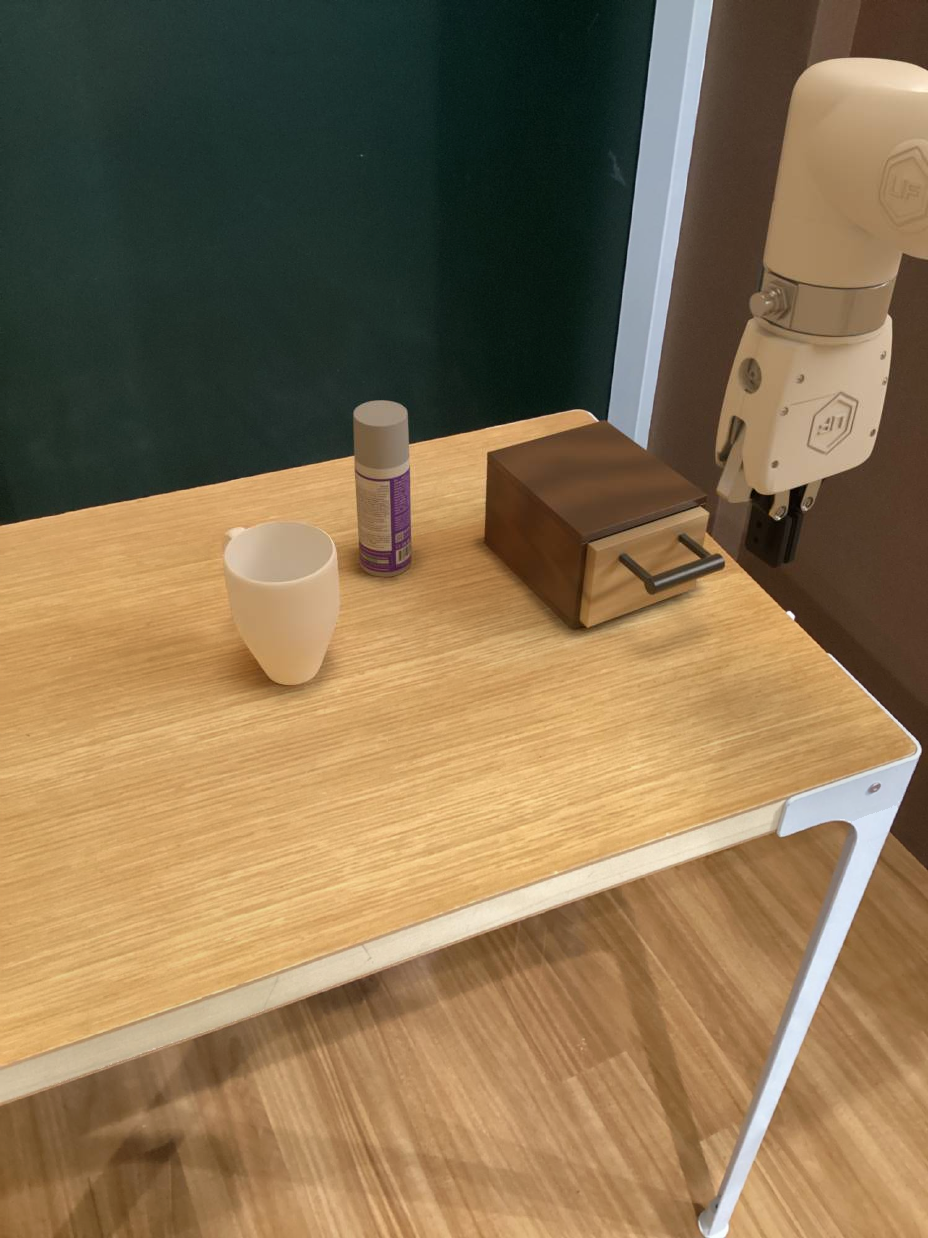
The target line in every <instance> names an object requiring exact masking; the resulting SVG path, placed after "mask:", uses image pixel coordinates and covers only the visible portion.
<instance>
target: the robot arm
mask: <svg viewBox="0 0 928 1238" xmlns="http://www.w3.org/2000/svg"><path fill="white" fill-rule="evenodd" d="M789 101H790V102H789V107H788V112H787V117H786V123H785V129H784V134H783V135H784V136H783V141H782V146H781V153H780V159H779V165H778V170H777V176H776V182H775V188H774V193H773V199H772V206H771V211H770V216H769V217H770V218H769V222H768V229H767V234H766V241H765V246H764V247H765V248H764V251H763V252H764V253H763V258H762V263H761V269H760V274H759V280H758V287H757V291H756V293H753V294H752V295H751V296H750V298H749V302H748V307H749V311H750V313H751V315H752V316H753V318H750V319H749V320H748V321H747V323H746V326H745V329H744V331H743V333H742V337H741V339H740V341H739V345H738V348H737V351H736V354H735V357H734V360H733V363H732V367H731V369H730V373H729V378H728V381H727V386H726V389H725V394H724V397H723V402H722V406H721V411H720V416H719V421H718V427H717V431H716V432H717V433H716V438H715V439H716V440H715V441H716V442H715V450H714V451H715V453H714V454H715V455H714V456H715V464H716V466H718V467H719V468H722V472H721V474H720V478H719V481H718V483H717V486H716V490H715V493H716V494H717V495H718V496H720V497H721V498H723V499H724V500H725V501H727V502H729V504H738V503H739V504H740V503H750V504H751V508H750V514H749V518H748V519H749V520H748V523H747V524H748V525H747V530H746V535H745V540H744V547H745V549H746V550H747V551H748V552H749V553H750V554H752V555H753V556H755V557H756V558H758V559H759V560H761V561H762V562H763V563H765V565H768V566H769V567H771V569H776V568H779V567H781V566H782V565H783V564H785V565H787V564H789V563H793V562H794V560H795V557H796V552H797V549H798V545H799V540H800V534H801V530H802V526H803V522H804V517H805V514H804V513H803V512H807V511H809V510H810V509H811V508H812V507H813V506H814V504H815V502H816V498H817V495H818V493H819V490H820V487H821V486H822V485H823V483H824V482H825V481H826V480H827V478H829V477H831V476H834V475H837V474H841V473H843V472H845V471H848V470H849V471H850V470H851V469H853V468H856V467H858V466H860V465H861V464H863V463H864V462H865V461H867V460H868V459H869V458H870V456H871V454H872V452H873V449H874V446H875V444H876V439H877V437H878V436H877V435H878V432H879V427H880V423H881V419H882V413H883V409H884V404H885V399H886V393H887V387H888V382H889V375H890V369H891V360H892V347H893V345H892V344H893V319H892V317H891V316H890V315H889V309H890V305H891V301H892V296H893V293H894V288H895V285H896V280H897V277H898V273H899V268H900V264H901V260H902V256H903V254H905V255H907V256H910V257H913V258H916V259H920V260H921V259H922V260H928V70H927V69H926V68H924V67H921V66H919V65H916V64H913V63H910V62H906V61H900V60H893V59H887V58H876V57H841V58H839V57H838V58H832V59H827V60H823V61H820V62H817V63H814V64H812V65H810V66H809V67H808V68H807V69H805V70H804V71H803V72H802V74H801V75H800V76H799V77H798V79H797V81H796V82H795V85H794V86H793V89H792V92H791V97H790V100H789Z"/></svg>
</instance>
